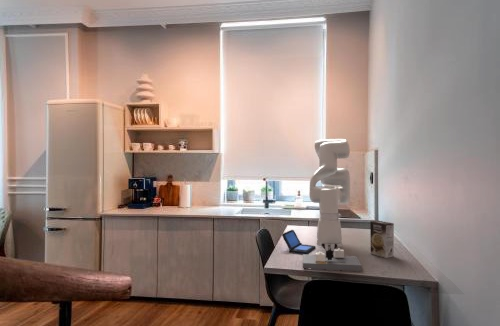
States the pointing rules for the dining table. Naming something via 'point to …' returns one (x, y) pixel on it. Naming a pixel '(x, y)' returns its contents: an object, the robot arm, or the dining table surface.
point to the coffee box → (382, 238)
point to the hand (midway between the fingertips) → (329, 259)
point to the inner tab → (339, 253)
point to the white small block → (320, 256)
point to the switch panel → (332, 263)
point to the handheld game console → (296, 243)
